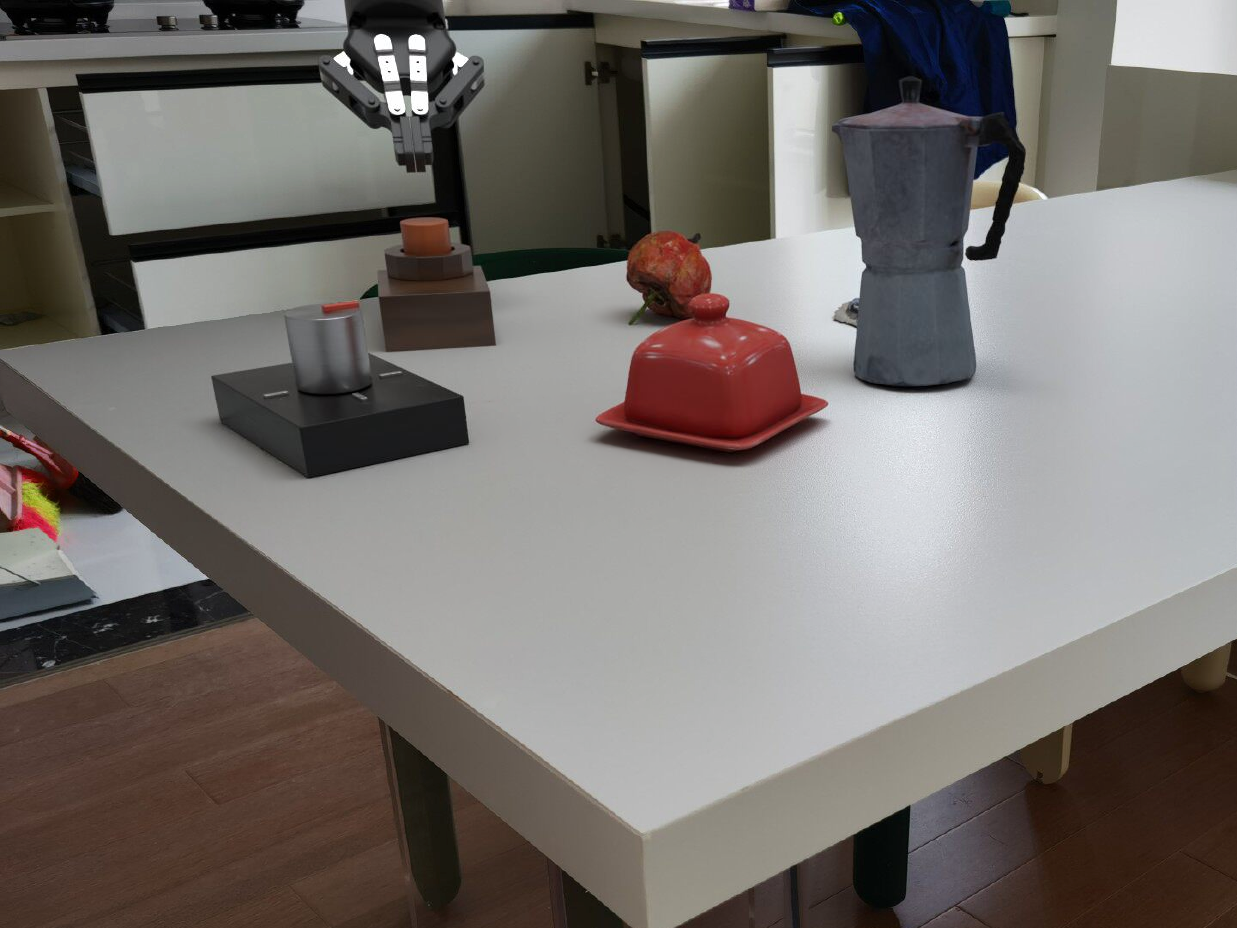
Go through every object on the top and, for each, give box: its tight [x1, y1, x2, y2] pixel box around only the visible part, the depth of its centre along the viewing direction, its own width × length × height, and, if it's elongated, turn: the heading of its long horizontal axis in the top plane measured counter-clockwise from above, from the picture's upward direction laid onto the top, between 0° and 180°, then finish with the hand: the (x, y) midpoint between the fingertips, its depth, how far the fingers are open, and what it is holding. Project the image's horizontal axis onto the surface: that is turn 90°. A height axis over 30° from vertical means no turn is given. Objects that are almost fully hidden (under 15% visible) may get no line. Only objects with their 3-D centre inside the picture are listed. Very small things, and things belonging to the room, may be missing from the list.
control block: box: [377, 242, 497, 353], centre depth 109 cm, size 11×8×6 cm
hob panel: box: [210, 352, 470, 479], centre depth 86 cm, size 14×10×3 cm
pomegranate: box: [625, 230, 713, 326], centre depth 114 cm, size 7×7×10 cm
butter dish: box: [595, 292, 829, 453], centre depth 87 cm, size 12×12×8 cm
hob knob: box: [283, 300, 372, 394], centre depth 85 cm, size 4×4×5 cm
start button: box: [399, 216, 452, 255], centre depth 109 cm, size 4×4×2 cm
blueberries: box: [832, 297, 860, 327], centre depth 117 cm, size 7×8×2 cm
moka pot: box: [831, 75, 1027, 387], centre depth 97 cm, size 10×15×20 cm, turn 59°
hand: (416, 165), depth 107 cm, fingers closed
